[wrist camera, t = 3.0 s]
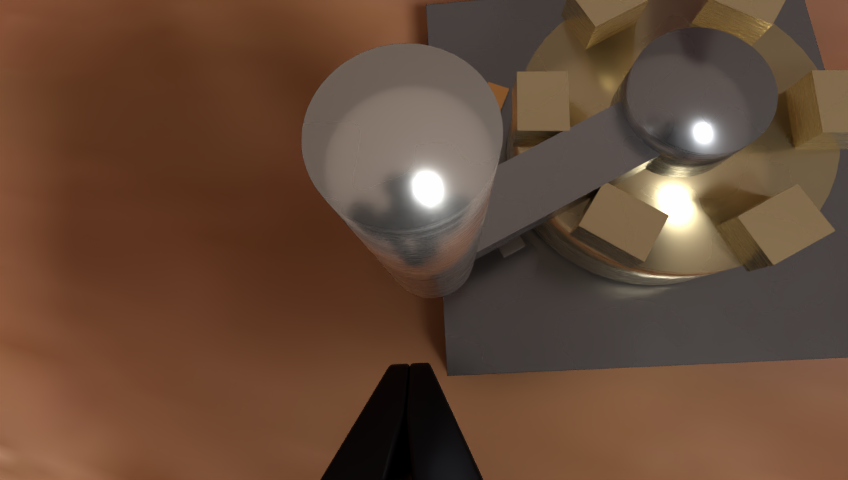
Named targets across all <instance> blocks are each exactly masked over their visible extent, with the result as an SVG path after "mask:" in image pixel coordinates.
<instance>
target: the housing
mask: <svg viewBox="0 0 848 480" xmlns="http://www.w3.org/2000/svg"><path fill="white" fill-rule="evenodd" d="M565 2H566V0H475V1H464V2H452V3H441V4H430V5H426V12H427V29H428V46H433V47H436V48H439V49H443V50H445V51H447V52H450V53H452V54H454V55H456V56H458V57H459V58H461V59H463V60H464V61H466V62H467V63H468V64H469V65H471V66H472V67H473V68H474V69H475V70H476V71H477V72H478V73H479V74H480V75H481V76H482V77H483V78H484V79H485V81H486V82H487V83H488V85H489V86H490V88H491V90H492V92H493V93H494V95H495V97H496V100H497V102H498V105H499V108H500V112H501V117H502V123H503V141H502V148H501V153H500V157H499V161H498V165H500V164H501V163H503V162H505V161H507V156H506V151H507V138H508V133H509V128H510V124H511V120H512V91H513V86H514V82H515V78H516V73H517V72H525V71H526V68H527V66H528V64H529V62H530V61H531V59H532V57H533V55H534V53H535V52H536V50H537V49H538V48H539V46H540V45H541V44H542V42H543V41H544V40H545V38H546V37H547V36H548V35H549V34H550V33H551V32H552V31H553V30H554V29H555V28H556V27H557V26H558V25H559V24H561V23H562V22H563V21H564V19H563V18H562V16H561V14H562V11H563V8H564V5H565ZM774 24H775V25H776V26H777V27H779V28H780V29H781V30H782V31H784V32H785V33H786V34H787V35H789V36H790V37H791V38H792V39H793V40H794V41H795V42H796V43H797V44H798V45H799V46H800V47H801V48H802V49H803V50H804V52H805V53H806V54H807V56H808V57H809V58H810V59H811V61H812V62H813V63H814V65H815V66H816V68H817V69H818V70H825V69H824V66H823V62H822V59H821V55H820V52H819V48H818V45H817V42H816V38H815V35H814V31H813V28H812V24H811V21H810V18H809V14H808V11H807V7H806V4H805V0H786V1H785V2H784V4H783V6H782V8H781V10H780V12H779V14H778V15H777V17H776V19H775V21H774ZM820 212H821V213H822V214H823V216H824V217H825V218H826V219H827V221H828V222H829V223H830V224H831V226H832V227H833V228H834V229H835V231H834V232H832V233H831V234H829V235H827V236H825V237H823V238H822V239H820V240H818V241H816V242H814V243H813V244H811V245H809V246H807V247H805V248H804V249H802V250H800V251H798V252H796V253H795V254H793V255H791V256H789V257H787V258H786V259H784V260H782V261H780V262H779V263H777V264H775V265H772V266H769V267H765V268H761V269H757V270H753V271H749V272H747V271H746V269H745V268H744V266H743V265H742V266H739V267H735V268H732V269H728V270H725V271H721V272H718V273H714V274H710V275H707V276H703V277H700V278H696V279H692V280H689V281H685V282H679V283H673V284H666V285H642V284H631V283H625V282H621V281H616V280H612V279H609V278H606V277H603V276H600V275H597V274H594V273H592V272H590V271H588V270H586V269H584V268H582V267H580V266H578V265H576V264H574V263H573V262H571V261H570V260H568V259H567V258H565V257H564V256H562V255H560V254H559V253H558V252H557V251H556V250H555V249H553V248H552V247H551V246H550V245H549V244H547V243H546V242H545V240H544V239H543V238H542V237H541V236H540V235H539V234H538V233H537V232H536V231H535V230H534V229H532V230H530V231H528V232H526V233H524V234H522V235H521V236H519V237H517V238H515V239H513V240H511V241H509V242H507V243H506V244H504V245H502V246H500V247H498V248H496V249H494V250H492V251H491V252H489V253H487V254H485V255H483V256H481V257H479V258H477V259H476V260H474V264H473V268H472V271H471V273H470V275H469V277H468V279H467V280H466V281H465V283H464V284H463V285H462V286H461V287H460V288H458V289H457V290H456V291H454V292H453V293H451V294H448V295H446V296H443V307H444V324H445V342H446V359H447V376H454V375H475V374H497V373H519V372H541V371H563V370H585V369H607V368H628V367H650V366H672V365H694V364H716V363H738V362H759V361H781V360H803V359H825V358H847V357H848V149H840V158H839V163H838V168H837V173H836V177H835V180H834V183H833V185H832V188H831V191H830V193H829V196H828V197H827V199H826V201H825V203H824V204H823V206H822V208H821V210H820Z"/></svg>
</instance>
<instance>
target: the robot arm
mask: <svg viewBox="0 0 848 480" xmlns="http://www.w3.org/2000/svg"><path fill="white" fill-rule="evenodd" d="M321 480H483V478H482V476H481V474H480V471H479V469H478V467H477V465H476V463H475V461H474V458H473V456H472V454H471V452H470V450H469V447H468V445H467V443H466V441H465V439H464V437H463V434H462V432H461V430H460V428H459V426H458V424H457V421H456V419H455V417H454V415H453V413H452V411H451V408H450V406H449V404H448V402H447V400H446V398H445V395H444V393H443V391H442V389H441V387H440V385H439V382H438V380H437V378H436V376H435V374H434V372H433V369H432V367H431V365H430V364H429V363H413V364H411V365H410V366H409V365H408V364H393V365H390V366H389V367H388V369H387V370H386V372H385V374H384V375H383V377H382V379H381V380H380V382H379V384H378V385H377V387H376V389H375V390H374V392H373V394H372V395H371V397H370V399H369V400H368V402H367V404H366V405H365V407H364V409H363V410H362V412H361V414H360V415H359V417H358V418H357V420H356V422H355V423H354V425H353V427H352V428H351V430H350V432H349V433H348V435H347V437H346V438H345V440H344V442H343V443H342V445H341V447H340V448H339V450H338V452H337V453H336V455H335V457H334V458H333V460H332V462H331V463H330V465H329V466H328V468H327V470H326V471H325V473H324V475H323V476H322V478H321Z"/></svg>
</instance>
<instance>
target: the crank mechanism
mask: <svg viewBox="0 0 848 480" xmlns="http://www.w3.org/2000/svg"><path fill="white" fill-rule="evenodd" d="M785 1H786V0H566V2H565V5H564V8H563V11H562V14H561V16H562V18H563V19H564V21H563V22H562V23H561V24H559V25H558V26H557V27H556V28H555V29H554V30H553V31H552V32H551V33H550V34H549V35H548V36H547V37H546V38H545V40H544V41H543V42H542V44H541V45H540V46H539V48H538V49H537V50H536V52H535V53H534V55H533V57H532V59H531V61H530V62H529V64H528V66H527V68H526V71H525V72H517V73H516V78H515V82H514V86H513V91H512V120H511V124H510V128H509V133H508V138H507V151H506V156H507V161H505V162H503V163H501V164H500V165H498V161H499V157H500V153H501V148H502V141H503V123H502V117H501V112H500V108H499V105H498V102H497V100H496V97H495V95H494V93H493V92H492V90H491V88H490V86H489V85H488V83H487V82H486V81H485V79H484V78H483V77H482V76H481V75H480V74H479V73H478V72H477V71H476V70H475V69H474V68H473V67H472V66H471V65H469V64H468V63H467V62H466V61H464V60H463V59H461V58H459V57H458V56H456V55H454V54H452V53H450V52H447V51H445V50H443V49H439V48H436V47H433V46H428V45H422V44H411V43H402V44H391V45H385V46H380V47H377V48H374V49H370V50H368V51H365V52H363V53H361V54H358V55H356V56H355V57H353V58H351V59H349V60H348V61H346V62H345V63H343V64H342V65H341V66H339V67H338V68H336V69H335V70H334V71H333V72H332V73H331V74H330V75H329V76H328V77H327V78H326V79H325V81H324V82H323V83H322V84H321V85H320V87H319V88H318V90H317V91H316V93H315V94H314V96H313V98H312V100H311V102H310V104H309V106H308V108H307V111H306V115H305V118H304V122H303V128H302V140H301V144H302V154H303V159H304V163H305V167H306V169H307V172H308V174H309V177H310V179H311V180H312V182H313V184H314V186H315V187H316V189H317V190H318V191H319V193H320V194H321V195H322V196H323V198H324V199H325V200H326V201H327V202H328V203H329V205H330V206H331V207H332V208H333V209H334V210H335V211H336V213H337V214H338V215H339V216H340V217H341V218H342V219H343V221H344V222H345V223H346V224H347V225H348V226H349V227H350V229H351V230H352V231H353V232H354V233H355V234H356V235H357V237H358V238H359V239H360V240H361V241H362V242H363V243H364V244H365V246H366V247H367V248H368V249H369V250H370V251H371V252H372V254H373V255H374V256H375V257H376V258H377V259H378V260H379V262H380V263H381V264H382V265H383V266H384V267H385V268H386V270H387V271H388V272H389V273H390V274H391V275H392V276H393V278H394V279H395V280H396V281H397V282H398V283H399V284H400V285H401V286H402V287H403V288H404V289H405V290H407V291H408V292H410V293H412V294H414V295H416V296H419V297H424V298H438V297H443V296H446V295H448V294H451V293H453V292H454V291H456V290H457V289H458V288H460V287H461V286H462V285H463V284H464V283H465V281H466V280H467V279H468V277H469V275H470V273H471V271H472V268H473V264H474V260H476V259H477V258H479V257H481V256H483V255H485V254H487V253H489V252H491V251H492V250H494V249H496V248H498V247H500V246H502V245H504V244H506V243H507V242H509V241H511V240H513V239H515V238H517V237H519V236H521V235H522V234H524V233H526V232H528V231H530V230H532V229H534V230H535V231H536V232H537V233H538V234H539V235H540V236H541V237H542V238H543V239H544V240H545V242H546V243H547V244H549V245H550V246H551V247H552V248H553V249H555V250H556V251H557V252H558V253H559V254H560V255H562V256H564V257H565V258H567V259H568V260H570V261H571V262H573V263H574V264H576V265H578V266H580V267H582V268H584V269H586V270H588V271H590V272H592V273H594V274H597V275H600V276H603V277H606V278H609V279H612V280H616V281H621V282H625V283H631V284H642V285H666V284H673V283H679V282H685V281H689V280H692V279H696V278H700V277H703V276H707V275H710V274H714V273H718V272H721V271H725V270H728V269H732V268H735V267H739V266H742V265H743V266H744V268H745V269H746V271H747V272H749V271H753V270H757V269H761V268H765V267H769V266H772V265H775V264H777V263H779V262H780V261H782V260H784V259H786V258H787V257H789V256H791V255H793V254H795V253H796V252H798V251H800V250H802V249H804V248H805V247H807V246H809V245H811V244H813V243H814V242H816V241H818V240H820V239H822V238H823V237H825V236H827V235H829V234H831V233H832V232H834V231H835V229H834V228H833V227H832V226H831V224H830V223H829V222H828V221H827V219H826V218H825V217H824V216H823V214H822V213H821V212H820V210H821V208H822V206H823V204H824V203H825V201H826V199H827V197H828V196H829V193H830V191H831V188H832V185H833V183H834V180H835V177H836V173H837V168H838V163H839V158H840V149H848V70H818V69H817V68H816V66H815V65H814V63H813V62H812V61H811V59H810V58H809V57H808V56H807V54H806V53H805V52H804V50H803V49H802V48H801V47H800V46H799V45H798V44H797V43H796V42H795V41H794V40H793V39H792V38H791V37H790V36H789V35H787V34H786V33H785V32H784V31H782V30H781V29H780V28H779V27H777V26H776V25H775V24H774V21H775V19H776V17H777V15H778V14H779V12H780V10H781V8H782V6H783V4H784V2H785Z"/></svg>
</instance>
